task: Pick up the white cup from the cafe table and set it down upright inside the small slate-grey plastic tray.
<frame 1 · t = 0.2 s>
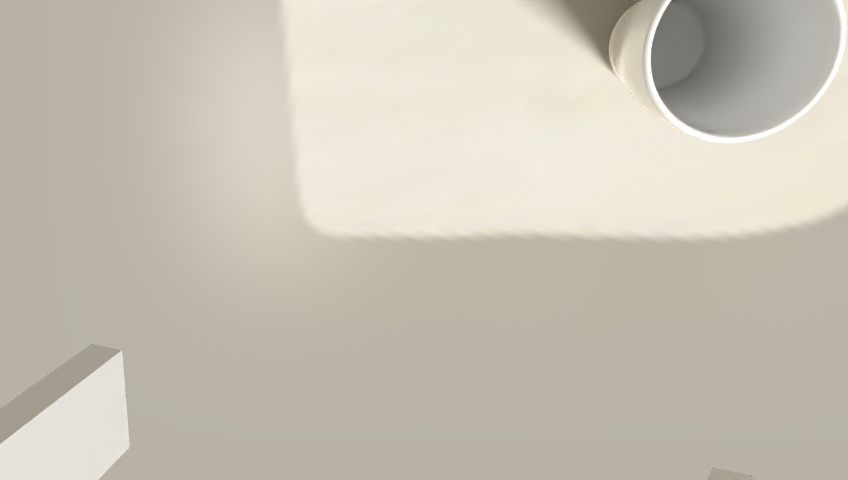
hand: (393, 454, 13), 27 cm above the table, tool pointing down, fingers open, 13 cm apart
white cup: (653, 45, 34), on the table
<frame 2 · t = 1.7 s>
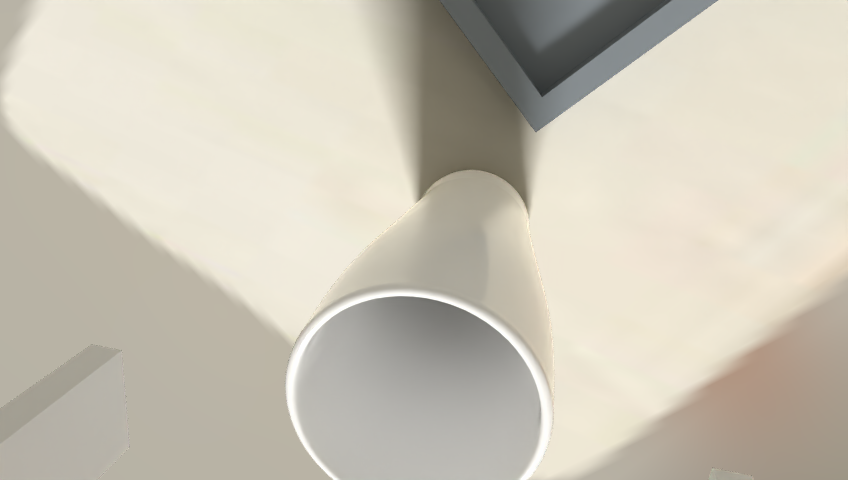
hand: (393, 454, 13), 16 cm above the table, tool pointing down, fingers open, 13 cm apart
white cup: (473, 220, 28), on the table
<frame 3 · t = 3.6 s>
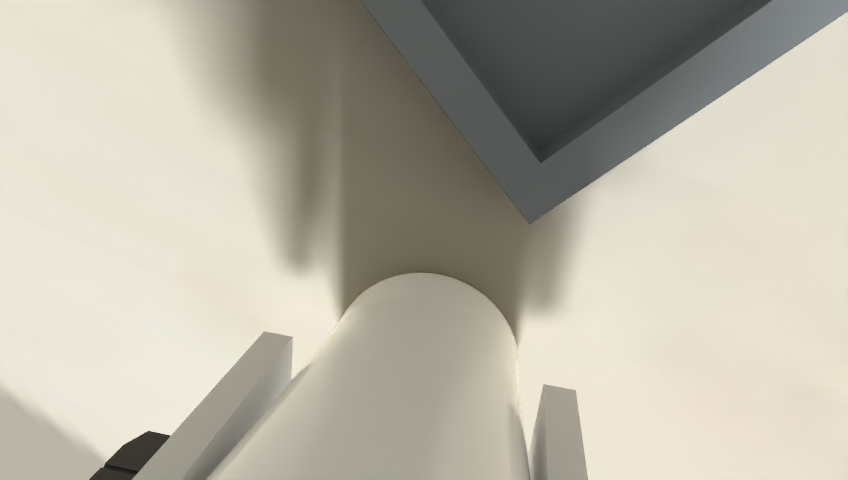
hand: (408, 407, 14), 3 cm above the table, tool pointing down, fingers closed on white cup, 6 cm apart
white cup: (429, 344, 17), on the table, touching gripper
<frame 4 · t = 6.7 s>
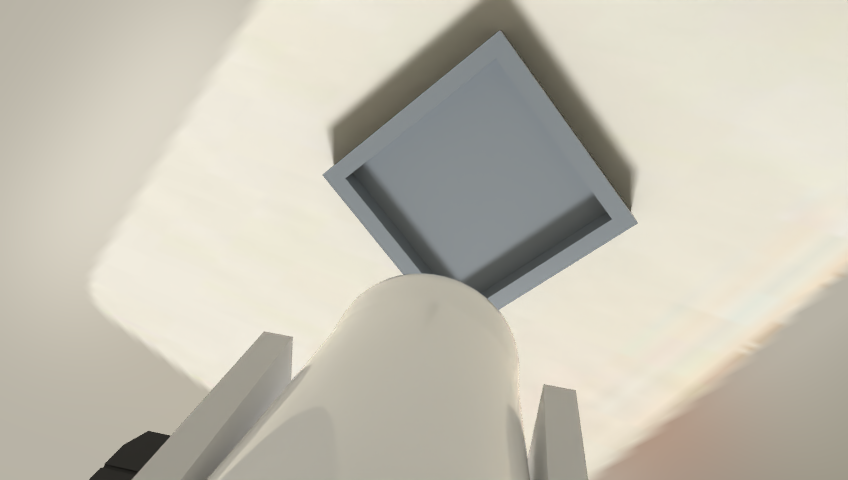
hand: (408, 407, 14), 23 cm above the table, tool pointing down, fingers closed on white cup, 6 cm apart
grey tray: (477, 189, 35), on the table
white cup: (429, 345, 17), point 19 cm above the table, touching gripper
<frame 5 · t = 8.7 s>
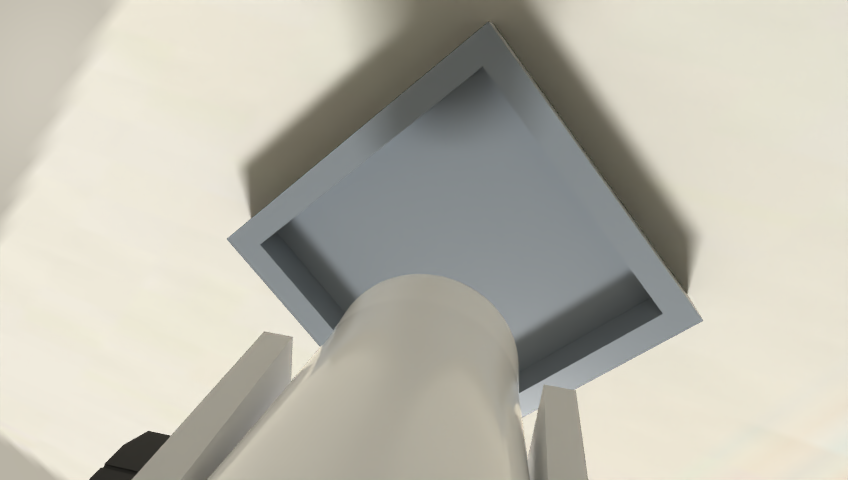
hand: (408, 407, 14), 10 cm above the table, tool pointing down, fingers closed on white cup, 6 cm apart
grey tray: (459, 257, 24), on the table
white cup: (429, 345, 17), point 7 cm above the table, touching gripper
when the fingers open (5 cm above the table, at t = 10.2 s): white cup drops 1 cm, resting on grey tray.
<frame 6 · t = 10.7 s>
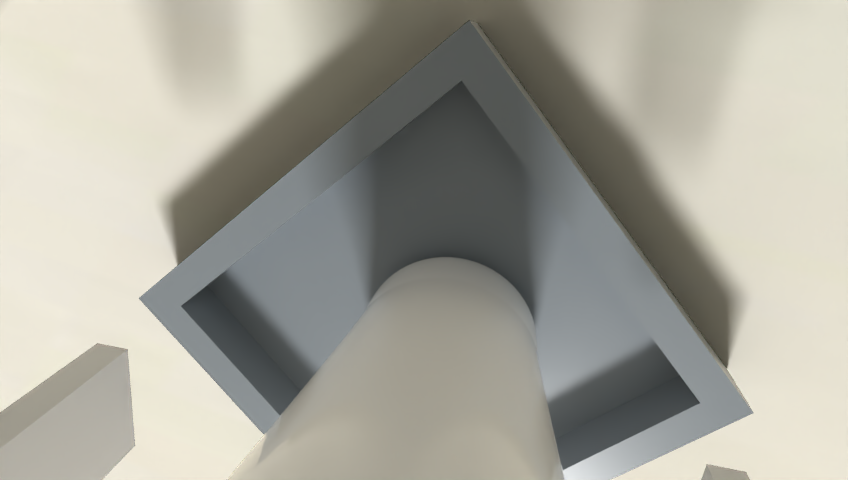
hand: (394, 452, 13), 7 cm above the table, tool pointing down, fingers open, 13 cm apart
grey tray: (437, 318, 19), on the table
white cup: (451, 325, 19), resting on grey tray
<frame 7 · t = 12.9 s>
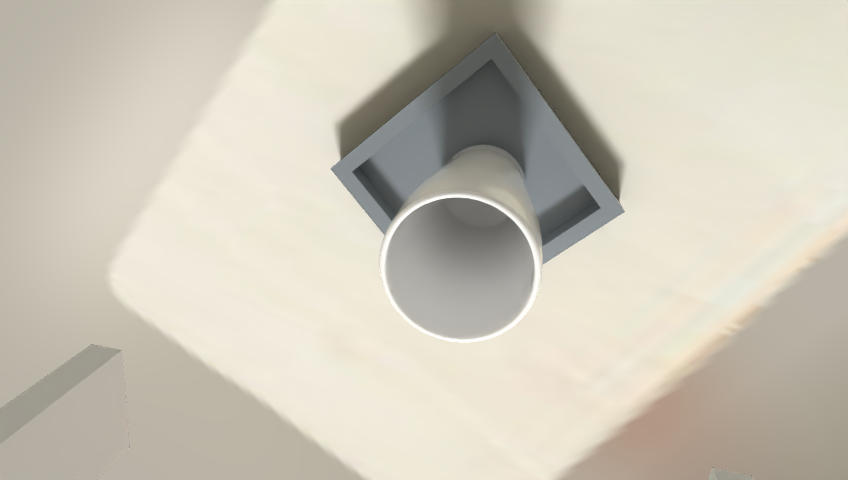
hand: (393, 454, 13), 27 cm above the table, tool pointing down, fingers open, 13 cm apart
grey tray: (476, 181, 38), on the table
white cup: (483, 183, 37), resting on grey tray
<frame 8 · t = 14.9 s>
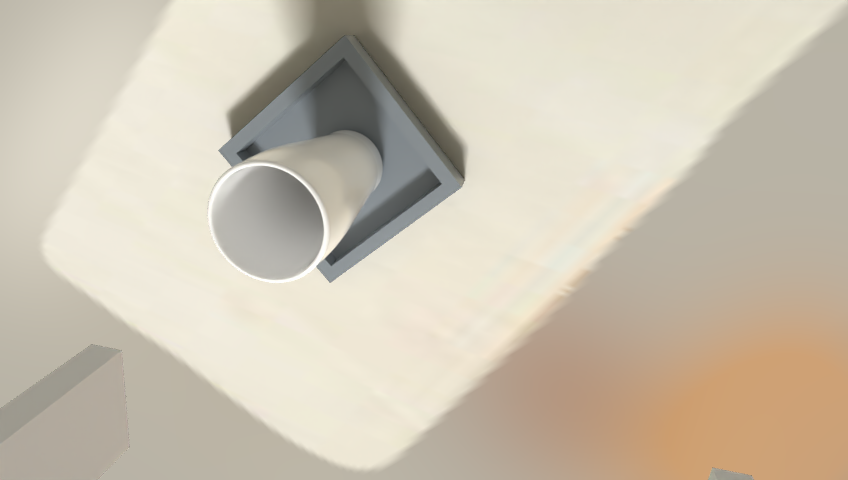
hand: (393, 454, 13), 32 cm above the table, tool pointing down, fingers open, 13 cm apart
grey tray: (345, 162, 44), on the table
white cup: (350, 163, 44), resting on grey tray
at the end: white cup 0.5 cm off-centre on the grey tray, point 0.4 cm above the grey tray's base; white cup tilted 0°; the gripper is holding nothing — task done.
